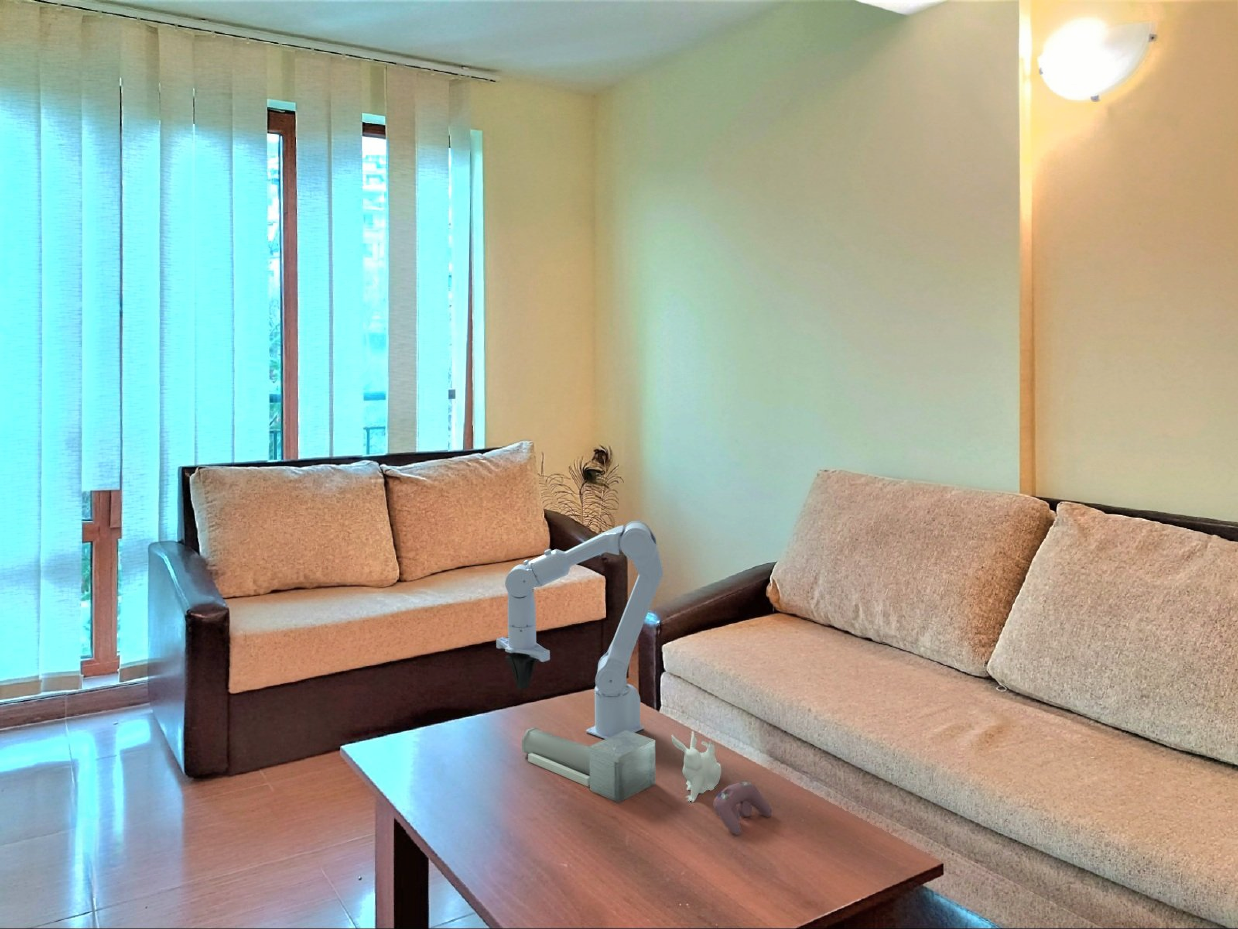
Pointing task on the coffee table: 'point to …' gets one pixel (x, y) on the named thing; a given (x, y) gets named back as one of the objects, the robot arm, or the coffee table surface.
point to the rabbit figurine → (699, 767)
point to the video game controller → (739, 804)
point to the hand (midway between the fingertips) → (523, 687)
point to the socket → (622, 765)
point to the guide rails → (559, 769)
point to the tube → (557, 749)
